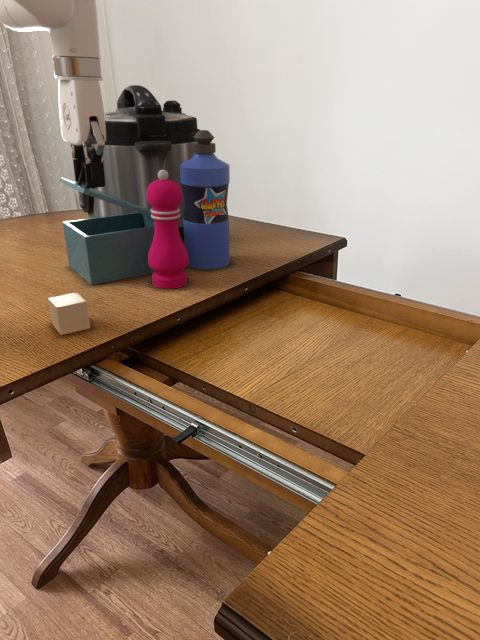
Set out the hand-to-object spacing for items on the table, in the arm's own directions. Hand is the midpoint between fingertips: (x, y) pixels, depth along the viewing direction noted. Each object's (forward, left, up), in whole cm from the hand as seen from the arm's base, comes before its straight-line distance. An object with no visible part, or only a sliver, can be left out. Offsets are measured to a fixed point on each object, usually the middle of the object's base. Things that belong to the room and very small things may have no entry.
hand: (90, 183), depth 97 cm
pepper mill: (+8, -13, -17) cm, 23 cm away
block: (-13, -22, -17) cm, 30 cm away
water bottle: (+20, -6, -17) cm, 27 cm away
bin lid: (+4, 0, -4) cm, 6 cm away
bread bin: (+4, 0, -17) cm, 17 cm away
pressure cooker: (+19, +22, -17) cm, 34 cm away
